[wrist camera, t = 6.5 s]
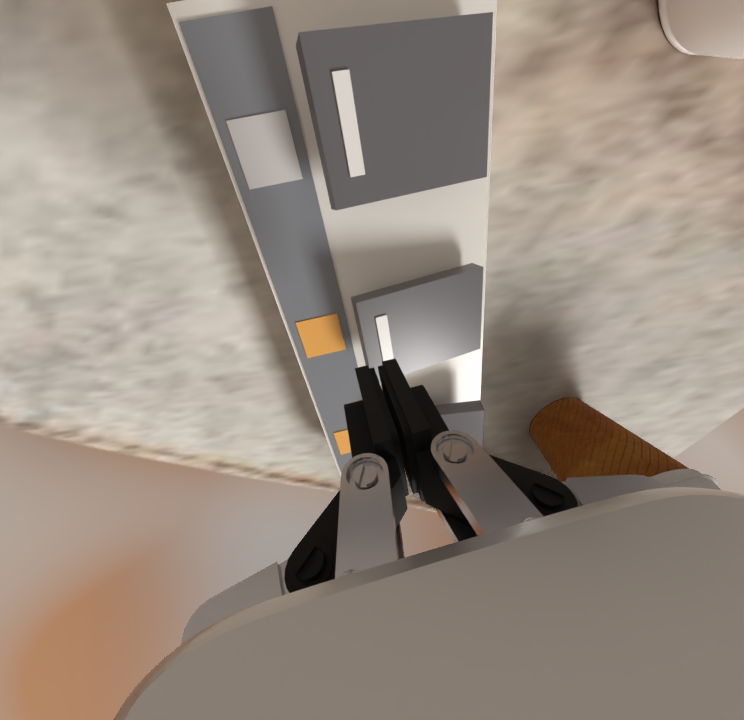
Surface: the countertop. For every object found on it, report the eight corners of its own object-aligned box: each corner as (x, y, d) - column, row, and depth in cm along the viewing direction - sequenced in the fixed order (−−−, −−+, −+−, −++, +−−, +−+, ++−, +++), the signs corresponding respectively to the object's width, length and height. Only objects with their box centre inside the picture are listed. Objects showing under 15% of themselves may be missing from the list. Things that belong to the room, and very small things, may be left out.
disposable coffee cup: (588, 367, 28) (742, 472, 18) (607, 419, 33) (737, 525, 23) (501, 421, 30) (596, 542, 20) (531, 463, 35) (620, 578, 25)
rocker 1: (476, 25, 11) (494, 10, 10) (473, 177, 14) (488, 176, 13) (295, 45, 10) (299, 30, 9) (331, 209, 13) (337, 210, 12)
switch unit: (454, 4, 14) (510, -67, 10) (459, 414, 28) (482, 452, 24) (204, 48, 13) (156, -9, 9) (338, 444, 28) (342, 488, 24)
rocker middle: (471, 262, 16) (484, 267, 15) (470, 341, 19) (481, 349, 18) (350, 297, 15) (356, 303, 14) (367, 376, 17) (373, 386, 16)
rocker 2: (479, 400, 20) (484, 411, 19) (477, 449, 22) (482, 461, 21) (377, 411, 20) (377, 422, 20) (387, 457, 23) (388, 469, 22)
